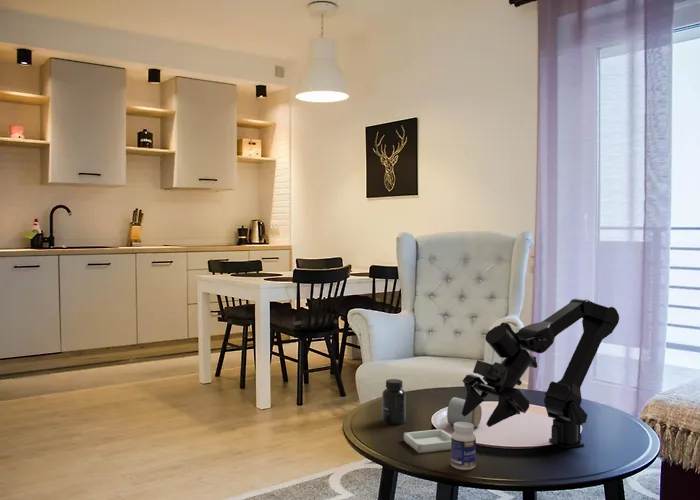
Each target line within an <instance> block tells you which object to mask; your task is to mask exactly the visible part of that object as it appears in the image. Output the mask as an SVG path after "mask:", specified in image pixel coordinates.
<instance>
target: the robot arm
mask: <svg viewBox="0 0 700 500" xmlns="http://www.w3.org/2000/svg"><path fill="white" fill-rule="evenodd" d="M580 319H582V321H581V323H582V330H583V331H582V335H581V337H580V338H579V341H578V343H577V345H576V347H575V350H574V352H573V353H572V356H571V358H570V361H569V362H568V365H567V367H566V369H565V371H564V373H563V376H562V377H561V379H560V380H558V381H556V382H555V381H550V383H549V385H548V388H547V390H546V391H545V393H544V400H543V403H544V407H545V409H546V413H547V417H548V418H552V425H551V438H548V441H549V442H551V443H553V444H555V443H556V444H555V445H557V444H559V446H558V447H561V448H562V449H569V448H578V447H584V446H585V443H584V442H582V441H581V428H582V427H581V426H583V424H586V423H587V419H588V414H587V413H586V411H585V410H584V409H583V408H582V407H581V403H582V402H583V401H582V391H581V387H582V385H583V382H584V380H585V379H586V376H587V375H588V372H589V370H590V367H591V365H592V362H593V361H594V359H595V356H596V354H597V352H598V350H599V347H600V345H601V343H602V341H603V340H605V339H606V338H607V337H608V336H610V335H612V333H613V332H614V330H615V329H616V327H617V326H618V324H619V322H620V315H619V312H618V310H617V309H616V308H615V307H614V306H608V305H607V306H606V305H601V304H598V303H596V302H594V301H591V300H589V299H585V298H577V297H576V298H573V299H571V300H570V301H569V302H568V303H567V304H566V305H564V306H563V307H561V308H560V309H558V310H557V311H555V312H554V313H553V314H551V315H550V316H548V317H547V318H545V319H543V320H542V321H540V322H536V323H531V324H530V323H529V324H528V325H526V326H523V327H521V328H520V329H519V330H518V331H516V332H515V331H514V330H513V328H512V327H511V325H510V324H509V323H508V322H501V323H500V325H497V326H495V327H493V328H491V329H490V330H488V332H487V333H486V334H485V341H486V343H487V344H488V345H489V346H490V347H491V348H492V350H493V351H494V353H496V354H497V356H498V357H500V358H501V359H503V360H502V361H501V363H499V362H496V361H495V362H494V363H493V364H492V363H488V362H487V361H486V362H485V361H482V360H479V359H477V360H476V362H475V365H474V367H473V370H472V373H473V374H466V375H465V376H464V378H463V379H462V383H463V384H464V387H465V388H466V397H465V399H464V400H465V404H464V407H463V410H462V415H463V416H464V417H465V416H466V415H468V414H469V413H470V412H471V411H473V410H474V409H475V408H476V407H477V406H478V405H481V404H482V403H483V402H484V401H485V398H486V397H488V395H491V396H494V397H497V398H498V399H497V401H498V402H497V405H496V407H495V408H494V410H493V411H492V413H491V414H490V416H489V418H488V419H487V422H486V423H485V424H486V426H487V427H488V428H490V427H492V426H493V427H494V425H497V424H498V423H501V422H502V421H504V420H506V419H509V418H512V417H513V416H516V415H520V414H521V413H522V414H525V413H526V412H527V411H528V409H529V408H530V401H529V400H528V398H527V397H526V396H525V395H524V393H523V392H522V391H521V390H520V389H518V388H515V387H516V385H517V386H521V385H522V381H521V378H522V376H523V375H524V374H525V373H526V371H527V370H528V369H529V367H530V368H534V369H537V368H538V362H537V357H536V356H534V355H531V354H530V353H529V352H532V353H535V354H536V353H537V354H543V353H545V352H546V351H548V349H549V348H550V347H551V346H553V344H554V343H555V342H554V341H555V338H556V337H557V336H558V335H559V334H560V333H562V332H563V331H565V330H566V329H568V328H570V327H571V326H572V325H574V324H575V323H576V322H578V321H579V320H580ZM474 374H478V375H480V376H482V378H480V376H477V375H474ZM485 382H486V383H485Z"/></svg>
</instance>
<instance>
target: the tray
mask: <svg viewBox="0 0 700 500" xmlns="http://www.w3.org/2000/svg"><path fill="white" fill-rule="evenodd" d="M451 436H452V434H450V433H448V432H447V431H446V430H444V429H442V428H437V429H429V430H428V429H427V430H420V431H410V432H403V441H404V442H405V443H406V444H407V445H409V447H411V448H412V449H413V450H414V451H416V452H417V453H418V454H424V453H425V454H426V453H432V452H442V451H448V450H449V451H451Z"/></svg>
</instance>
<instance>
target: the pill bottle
mask: <svg viewBox="0 0 700 500" xmlns="http://www.w3.org/2000/svg"><path fill="white" fill-rule="evenodd" d="M453 430H454V431H453V432H452V433H451V450H450V465H451V466H452V468H455V469H456V470H461V471H469V470H473V469H474V468H475V467H476V465H477V464H476V460H477V459H476V458H477V457H476V455H477V454H476V453H477V451H476V450H477V445H476V444H477V436H476V434H475V433H474V431H475V428H474V425H473V424H472V423H469V422H455V423H454V425H453Z"/></svg>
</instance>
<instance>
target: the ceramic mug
mask: <svg viewBox="0 0 700 500" xmlns="http://www.w3.org/2000/svg"><path fill="white" fill-rule="evenodd" d="M465 400H466V399H464V398H460V397H456V396H454V397H452V398H450V401H449V403H448V405H447V411H446V418H447V423H448V424H449V425H452V426H454V423H455V422H469V423H472V424H473V425H474V429H476V428H477V427H478V426H479V425H480V423H481V421H482V415H483V414H482V411H483V410H482V407H481V404H479V405H478V406H477V407H476V408H475V409H474V410H473V411H471V412H470V413H469V414H468V415H466V416H465V417H464V416H463V415H462V410H463V407H464V404H465Z"/></svg>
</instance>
